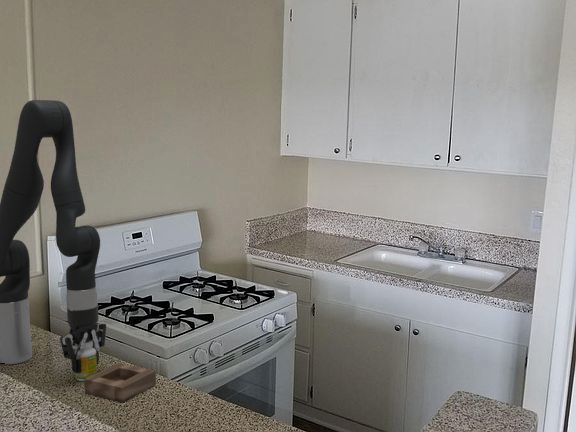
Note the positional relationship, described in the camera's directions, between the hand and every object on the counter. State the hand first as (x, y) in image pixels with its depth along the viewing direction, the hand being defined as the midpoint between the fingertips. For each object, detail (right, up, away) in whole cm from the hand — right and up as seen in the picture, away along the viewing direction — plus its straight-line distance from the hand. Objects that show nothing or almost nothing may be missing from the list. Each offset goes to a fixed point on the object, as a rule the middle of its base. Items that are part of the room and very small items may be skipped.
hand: (85, 368), depth 171 cm
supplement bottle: (0, -3, 0) cm, 3 cm away
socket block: (+11, -3, -7) cm, 13 cm away
